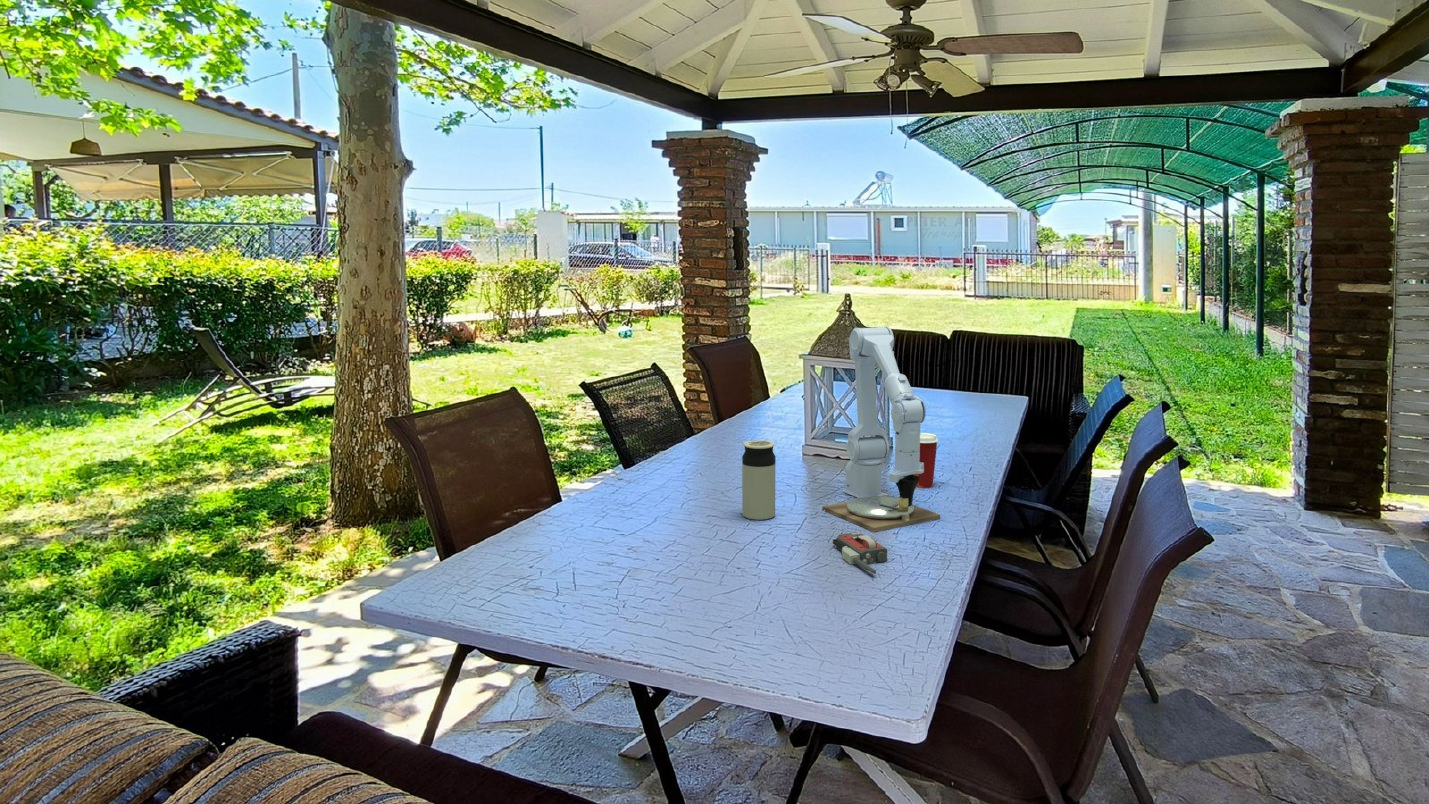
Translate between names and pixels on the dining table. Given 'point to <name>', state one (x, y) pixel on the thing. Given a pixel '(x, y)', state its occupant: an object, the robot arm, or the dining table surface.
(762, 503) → the travel mug
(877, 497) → the capstan dial
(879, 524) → the dial base
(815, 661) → the dining table surface
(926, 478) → the paper cup
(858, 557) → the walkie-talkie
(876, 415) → the robot arm
